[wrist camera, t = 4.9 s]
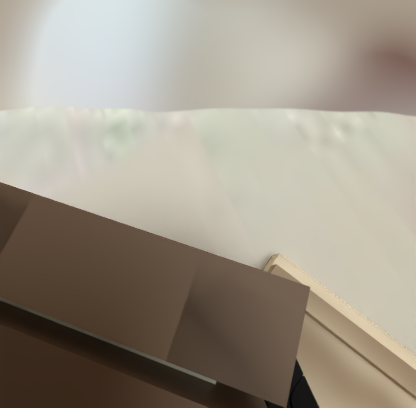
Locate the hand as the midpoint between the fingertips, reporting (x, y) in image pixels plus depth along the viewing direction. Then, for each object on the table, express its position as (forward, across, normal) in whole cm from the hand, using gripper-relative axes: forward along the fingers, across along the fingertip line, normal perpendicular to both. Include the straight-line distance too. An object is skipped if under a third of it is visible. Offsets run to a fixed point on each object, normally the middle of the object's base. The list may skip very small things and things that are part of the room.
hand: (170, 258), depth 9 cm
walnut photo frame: (+4, 0, +6) cm, 7 cm away
